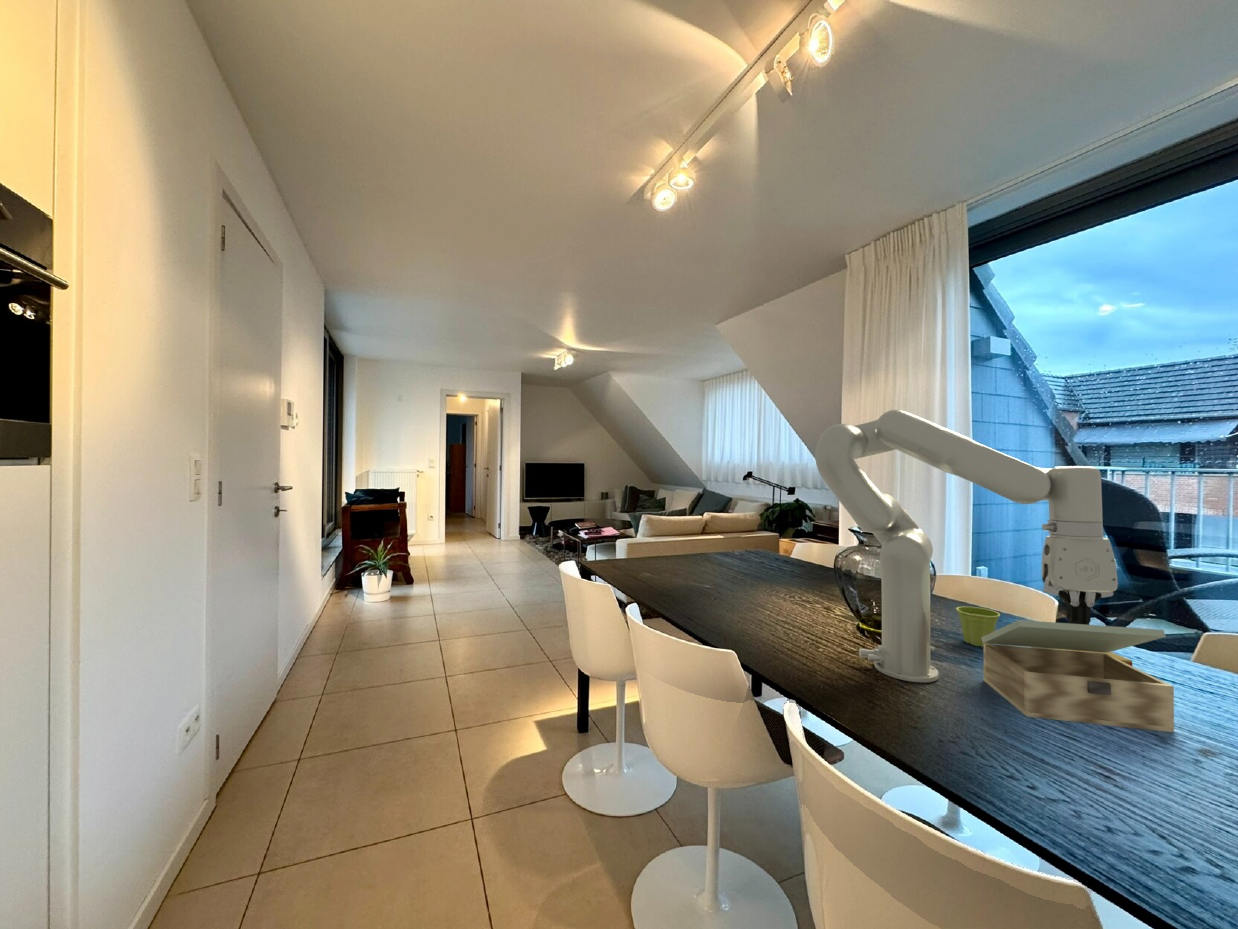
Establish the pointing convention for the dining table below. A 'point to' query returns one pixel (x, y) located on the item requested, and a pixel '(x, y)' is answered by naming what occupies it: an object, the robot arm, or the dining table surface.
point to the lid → (1071, 636)
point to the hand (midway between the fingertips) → (1078, 625)
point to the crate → (1079, 687)
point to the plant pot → (977, 623)
